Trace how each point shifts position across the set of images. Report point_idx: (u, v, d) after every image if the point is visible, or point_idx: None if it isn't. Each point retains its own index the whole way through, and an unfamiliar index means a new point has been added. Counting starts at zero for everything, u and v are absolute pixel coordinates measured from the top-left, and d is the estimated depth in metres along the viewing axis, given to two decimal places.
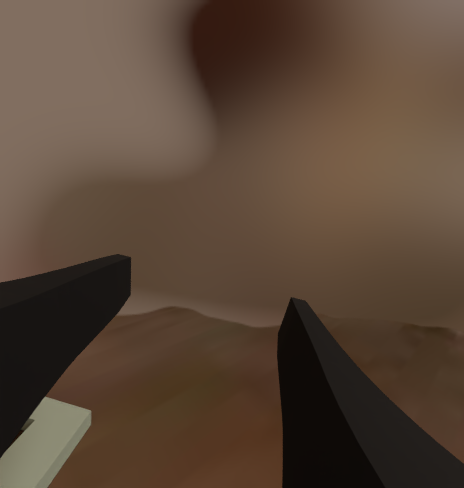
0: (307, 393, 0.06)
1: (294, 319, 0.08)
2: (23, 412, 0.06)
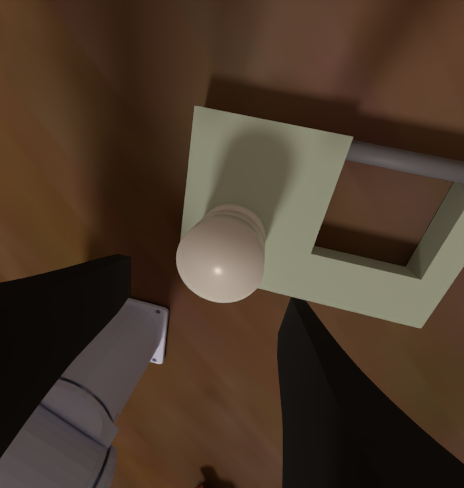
0: (307, 393, 0.06)
1: (293, 319, 0.08)
2: (23, 412, 0.06)
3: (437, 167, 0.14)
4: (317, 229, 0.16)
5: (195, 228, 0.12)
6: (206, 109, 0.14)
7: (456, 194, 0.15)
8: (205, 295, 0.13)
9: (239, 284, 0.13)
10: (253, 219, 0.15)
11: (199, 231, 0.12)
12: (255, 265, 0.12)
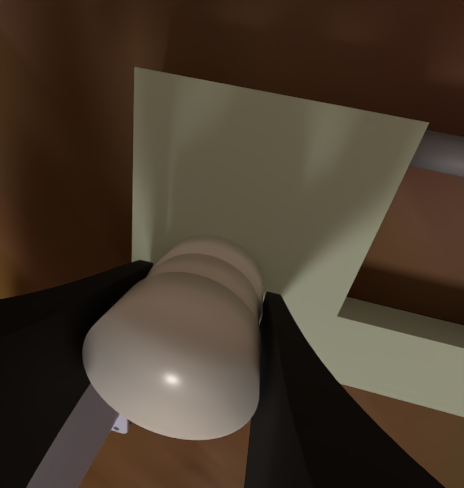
0: (269, 382, 0.06)
1: (266, 312, 0.08)
2: (57, 422, 0.06)
3: None
4: (350, 280, 0.10)
5: (111, 315, 0.06)
6: (156, 73, 0.08)
7: None
8: (148, 424, 0.07)
9: (210, 416, 0.06)
10: (241, 271, 0.08)
11: (119, 322, 0.06)
12: (240, 389, 0.06)
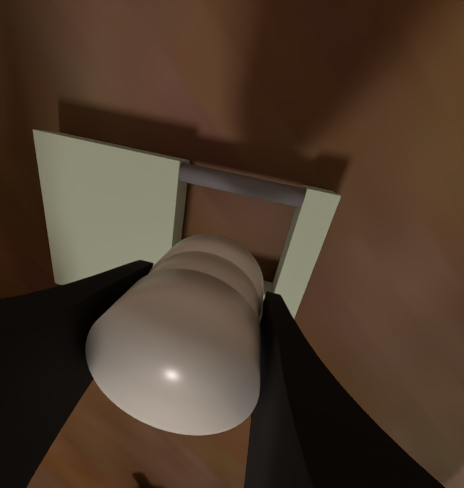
0: (268, 382, 0.06)
1: (265, 312, 0.08)
2: (57, 422, 0.06)
3: (260, 191, 0.14)
4: (169, 248, 0.16)
5: (116, 309, 0.06)
6: (44, 133, 0.15)
7: (295, 215, 0.15)
8: (147, 418, 0.07)
9: (210, 411, 0.07)
10: (243, 270, 0.08)
11: (124, 316, 0.06)
12: (241, 385, 0.06)
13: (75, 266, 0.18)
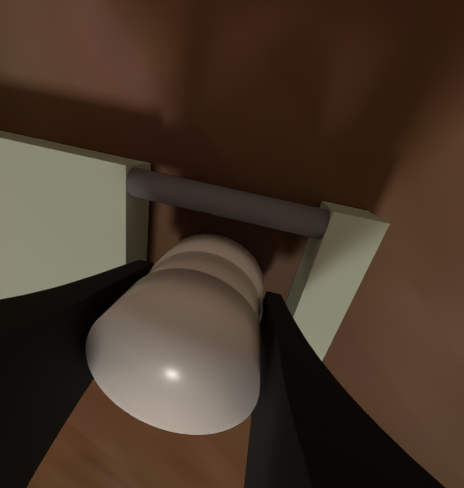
0: (269, 382, 0.06)
1: (265, 312, 0.08)
2: (57, 422, 0.06)
3: (256, 213, 0.09)
4: None
5: (116, 309, 0.06)
6: None
7: (310, 247, 0.10)
8: (147, 418, 0.07)
9: (210, 410, 0.07)
10: (243, 270, 0.08)
11: (125, 315, 0.06)
12: (241, 385, 0.06)
13: None
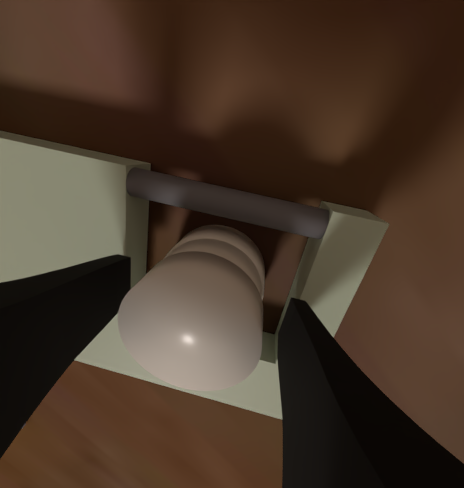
0: (307, 393, 0.06)
1: (294, 319, 0.08)
2: (23, 412, 0.06)
3: (256, 213, 0.09)
4: None
5: (146, 281, 0.07)
6: None
7: (310, 247, 0.10)
8: (167, 378, 0.08)
9: (220, 368, 0.08)
10: (247, 255, 0.10)
11: (152, 287, 0.07)
12: (247, 344, 0.07)
13: None
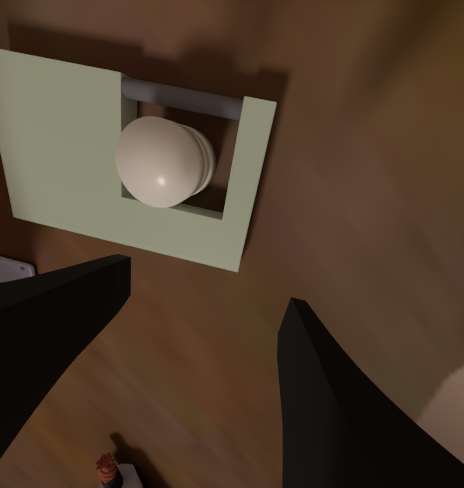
0: (307, 393, 0.06)
1: (294, 319, 0.08)
2: (23, 412, 0.06)
3: (200, 101, 0.14)
4: None
5: (131, 124, 0.12)
6: None
7: None
8: (145, 199, 0.14)
9: (175, 186, 0.13)
10: (198, 135, 0.15)
11: (134, 127, 0.12)
12: (188, 164, 0.13)
13: (31, 196, 0.19)
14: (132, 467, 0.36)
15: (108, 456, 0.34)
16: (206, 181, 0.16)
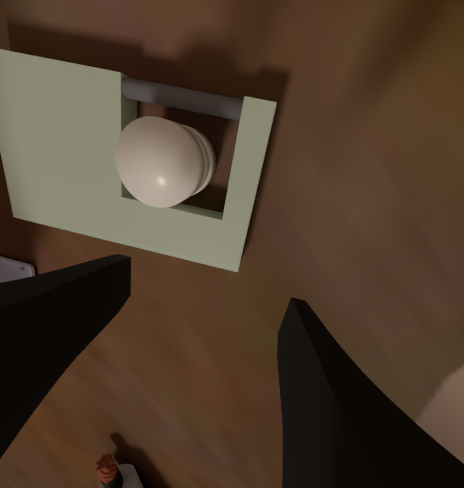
0: (307, 393, 0.06)
1: (294, 319, 0.08)
2: (23, 412, 0.06)
3: (200, 101, 0.14)
4: None
5: (131, 124, 0.12)
6: None
7: None
8: (145, 199, 0.14)
9: (175, 186, 0.13)
10: (198, 135, 0.15)
11: (134, 127, 0.12)
12: (188, 164, 0.13)
13: (31, 196, 0.19)
14: (132, 467, 0.36)
15: (108, 456, 0.34)
16: (206, 181, 0.16)
